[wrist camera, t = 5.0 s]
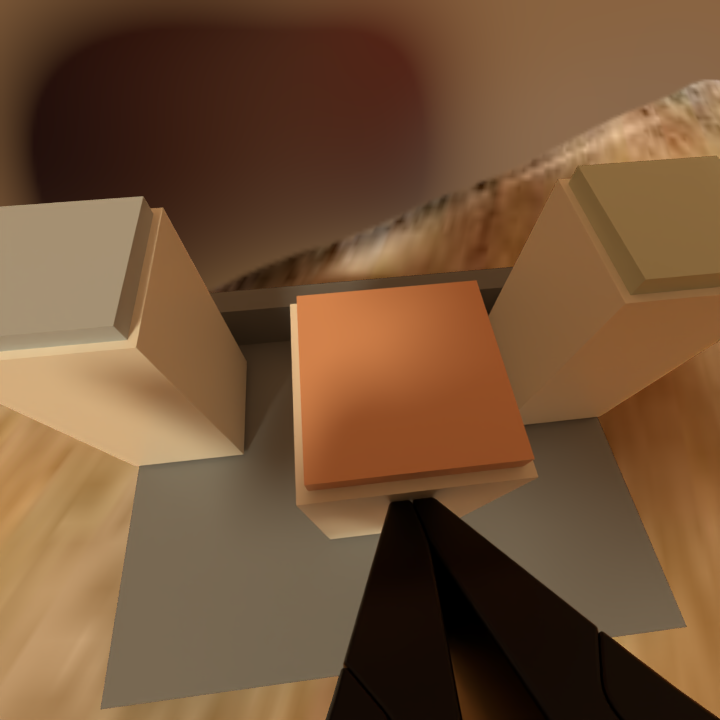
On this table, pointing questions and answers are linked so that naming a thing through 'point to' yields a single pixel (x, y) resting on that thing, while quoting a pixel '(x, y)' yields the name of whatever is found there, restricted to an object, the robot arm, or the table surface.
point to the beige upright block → (612, 286)
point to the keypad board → (343, 555)
